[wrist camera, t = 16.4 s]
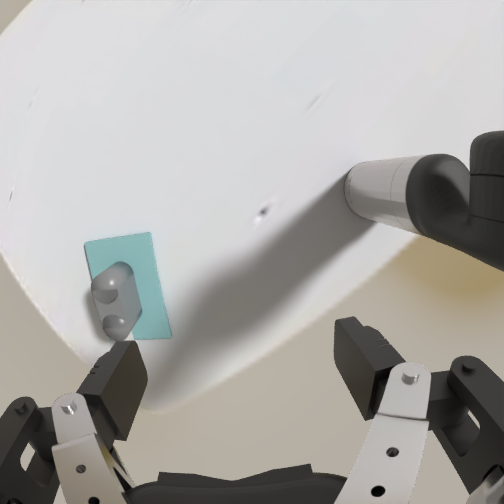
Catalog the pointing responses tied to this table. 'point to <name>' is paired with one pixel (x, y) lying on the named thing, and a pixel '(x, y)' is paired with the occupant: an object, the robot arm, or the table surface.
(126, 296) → the plug block
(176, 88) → the table surface
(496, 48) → the table surface
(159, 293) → the mat
